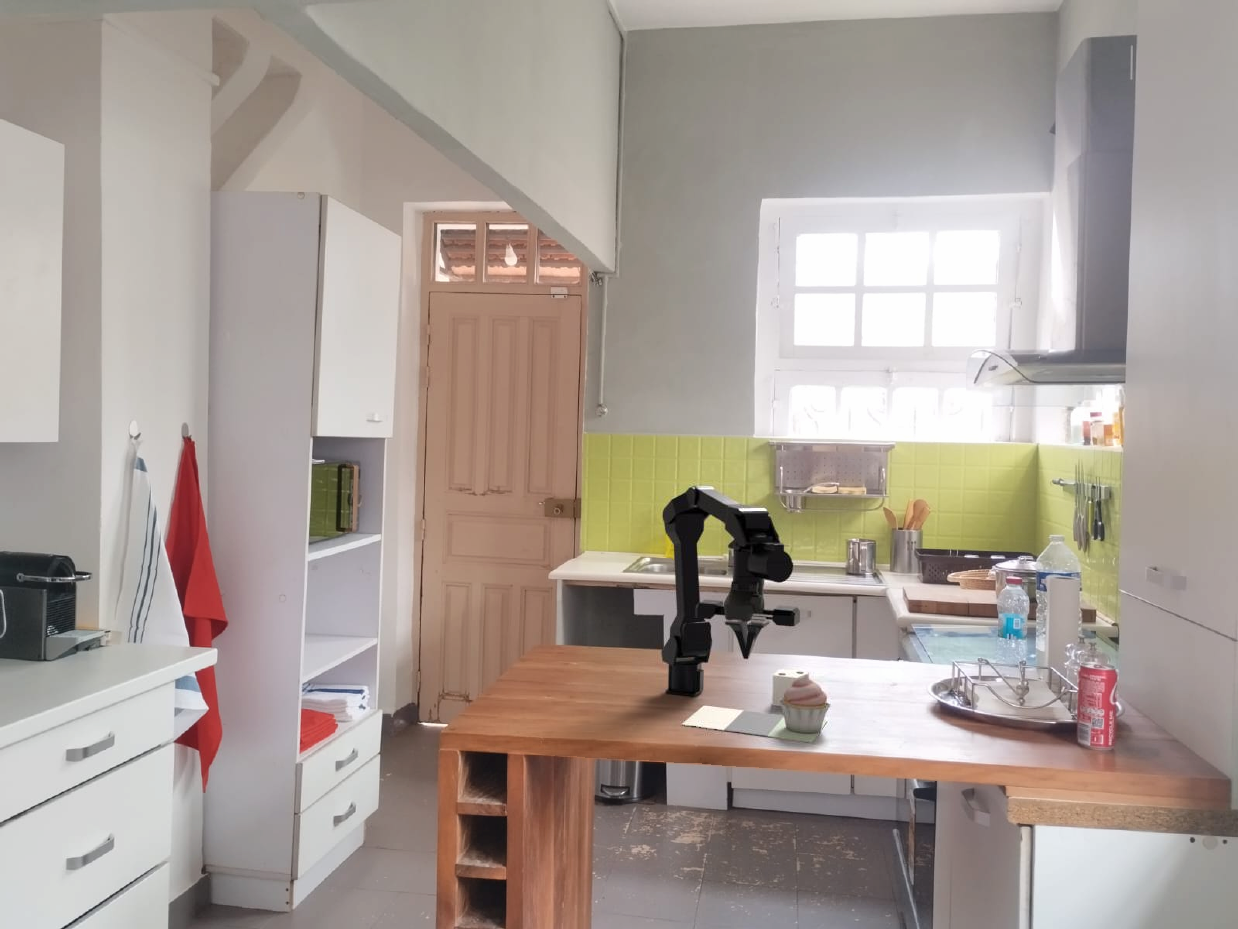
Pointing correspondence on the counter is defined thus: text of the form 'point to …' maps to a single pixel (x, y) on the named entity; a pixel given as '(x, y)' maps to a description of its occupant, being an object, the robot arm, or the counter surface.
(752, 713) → the game board
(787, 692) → the cupcake
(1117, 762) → the counter surface
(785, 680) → the white cube
